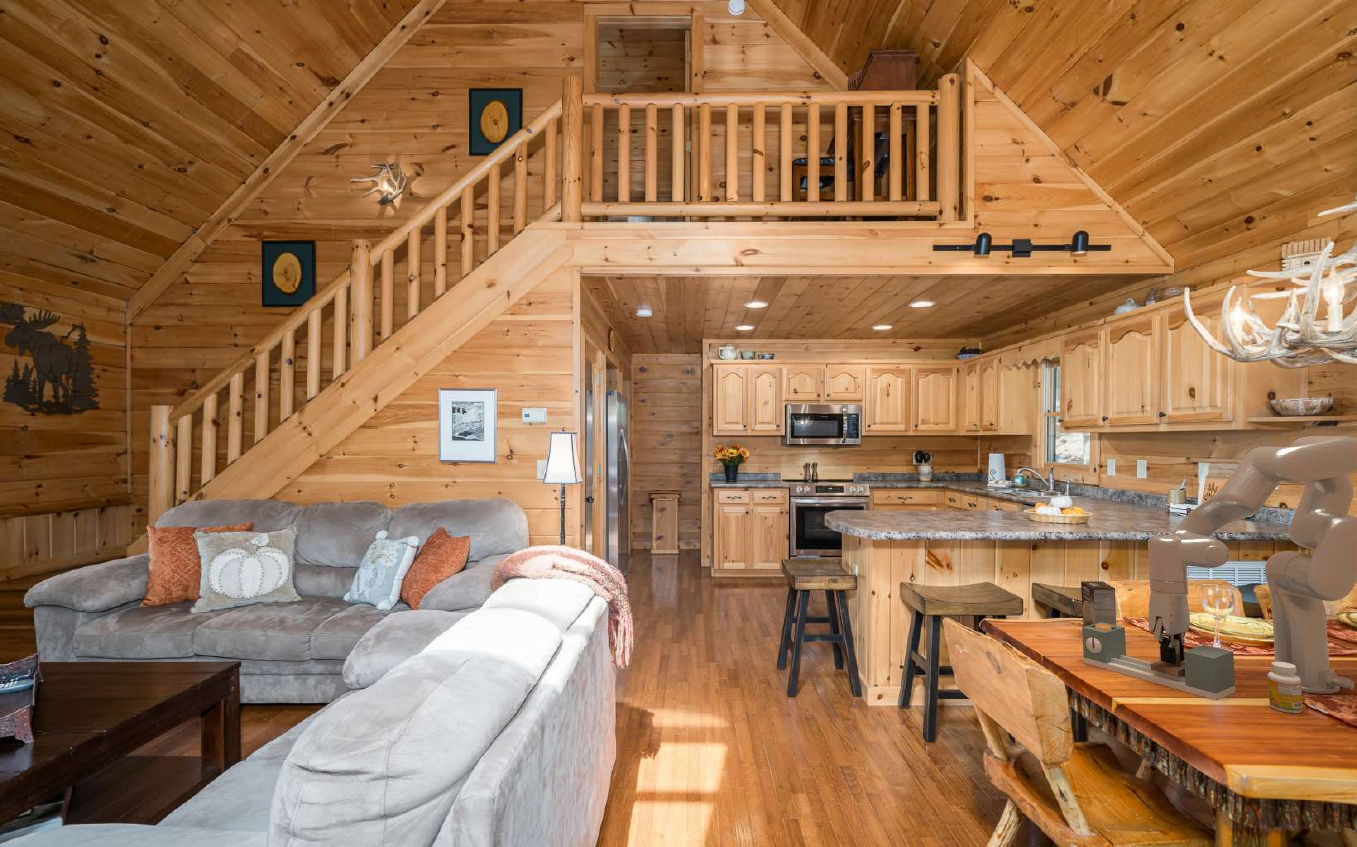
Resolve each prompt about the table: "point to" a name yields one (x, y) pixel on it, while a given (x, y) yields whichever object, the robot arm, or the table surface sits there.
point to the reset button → (1103, 627)
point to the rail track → (1154, 675)
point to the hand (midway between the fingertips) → (1172, 660)
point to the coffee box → (1098, 603)
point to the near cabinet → (1209, 668)
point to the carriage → (1169, 668)
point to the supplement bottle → (1285, 688)
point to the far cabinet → (1103, 643)
